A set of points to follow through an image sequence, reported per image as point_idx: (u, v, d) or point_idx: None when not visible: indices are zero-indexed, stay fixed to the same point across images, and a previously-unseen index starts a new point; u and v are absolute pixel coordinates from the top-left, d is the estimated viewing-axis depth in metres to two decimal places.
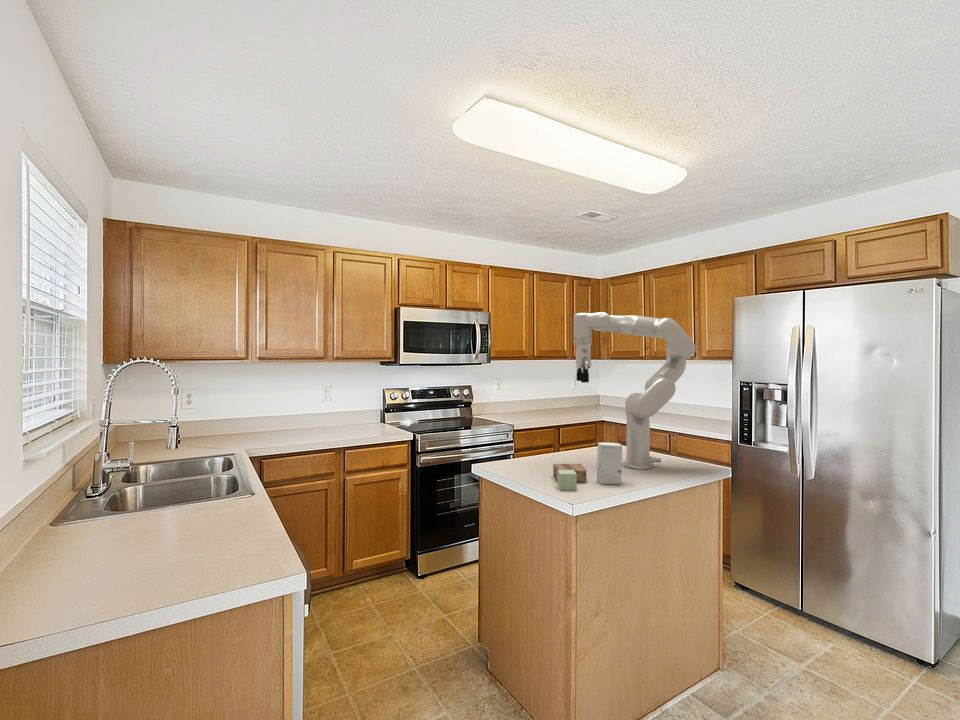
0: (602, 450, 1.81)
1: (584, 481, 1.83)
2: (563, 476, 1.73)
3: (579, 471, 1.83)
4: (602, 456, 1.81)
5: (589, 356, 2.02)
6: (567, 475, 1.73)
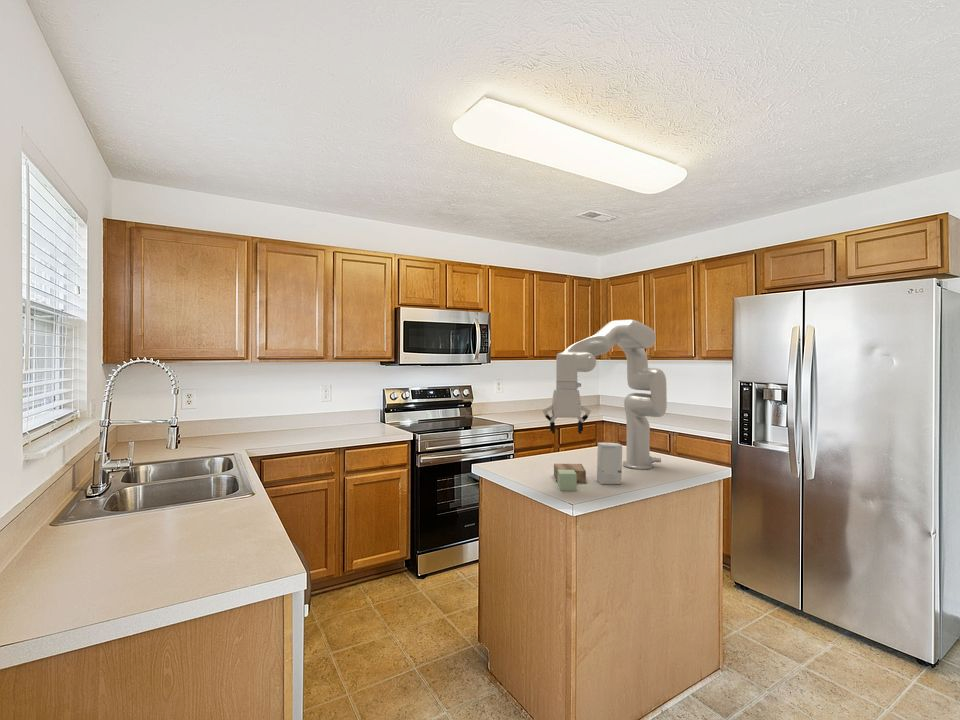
0: (602, 450, 1.81)
1: (583, 481, 1.82)
2: (563, 476, 1.73)
3: (578, 471, 1.83)
4: (602, 456, 1.81)
5: None
6: (567, 475, 1.73)
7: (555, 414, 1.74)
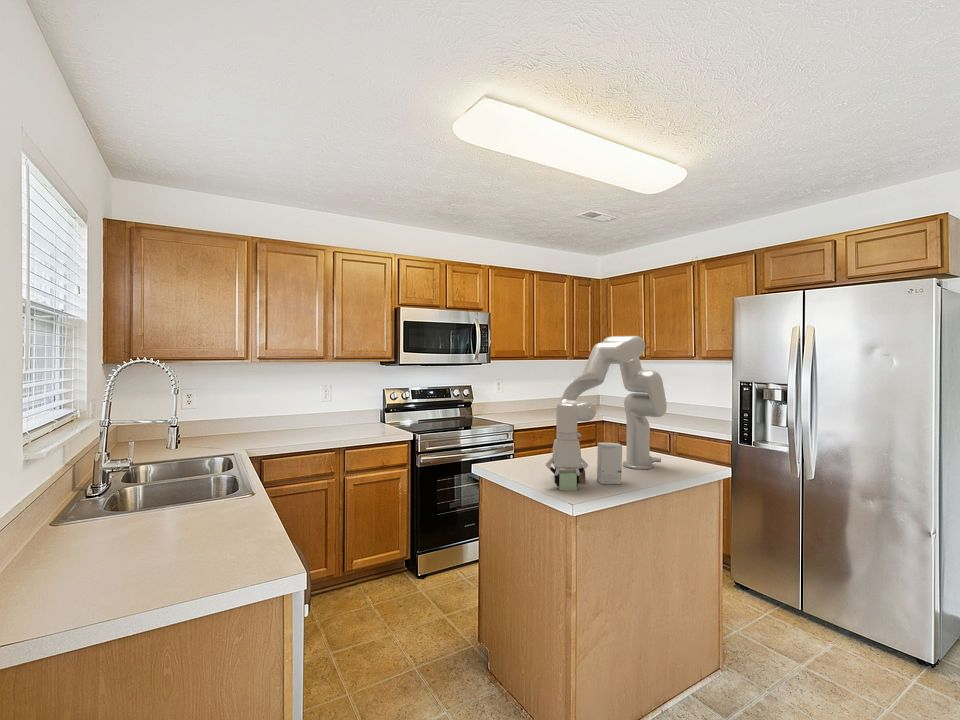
0: (602, 450, 1.81)
1: (583, 481, 1.82)
2: (563, 476, 1.73)
3: None
4: (602, 456, 1.81)
5: None
6: (567, 475, 1.73)
7: (555, 465, 1.74)
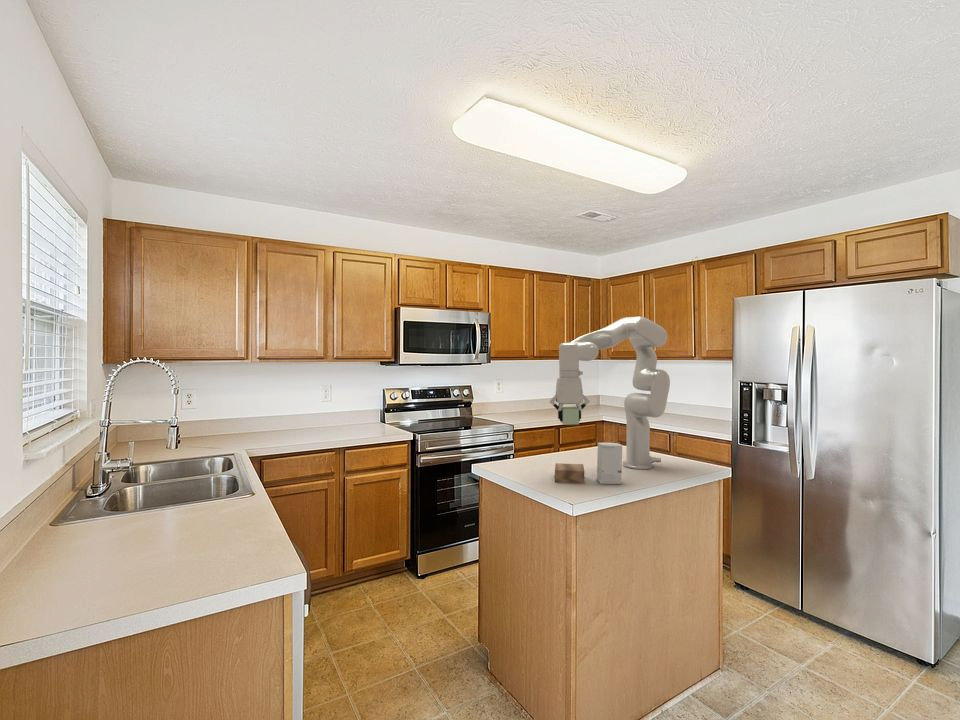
0: (602, 450, 1.81)
1: (582, 482, 1.82)
2: (566, 411, 1.84)
3: (577, 471, 1.82)
4: (602, 456, 1.81)
5: None
6: (570, 410, 1.84)
7: (559, 401, 1.85)
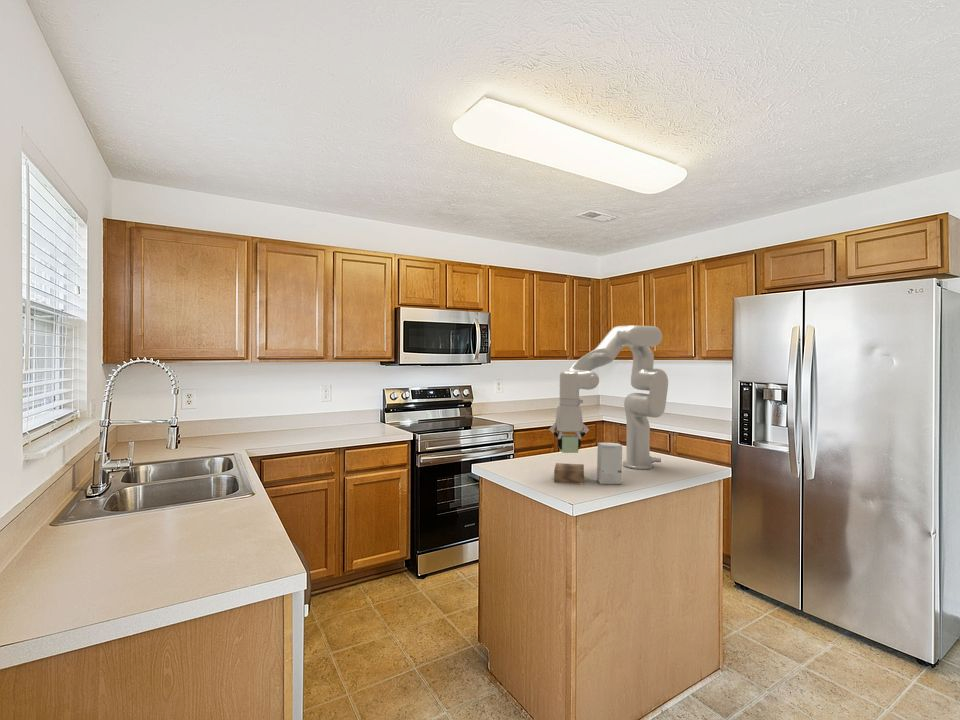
0: (602, 450, 1.81)
1: (581, 482, 1.82)
2: (566, 439, 1.85)
3: (576, 471, 1.82)
4: (602, 456, 1.81)
5: None
6: (569, 438, 1.85)
7: (558, 429, 1.86)
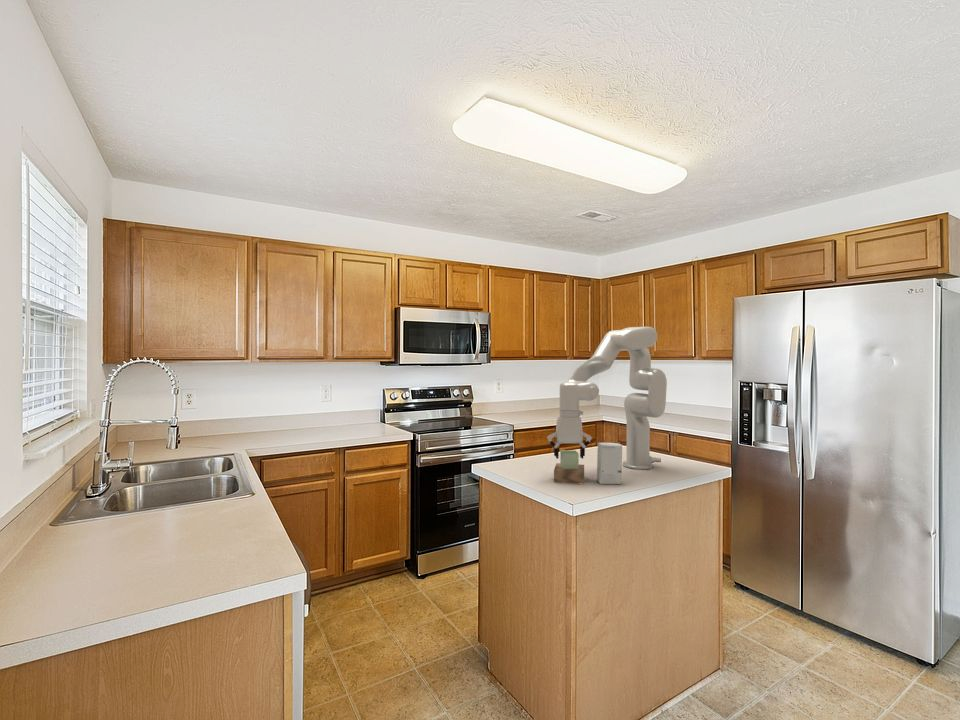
0: (602, 450, 1.81)
1: (581, 482, 1.82)
2: (566, 456, 1.85)
3: (576, 471, 1.82)
4: (602, 456, 1.81)
5: None
6: (570, 454, 1.85)
7: (559, 440, 1.86)
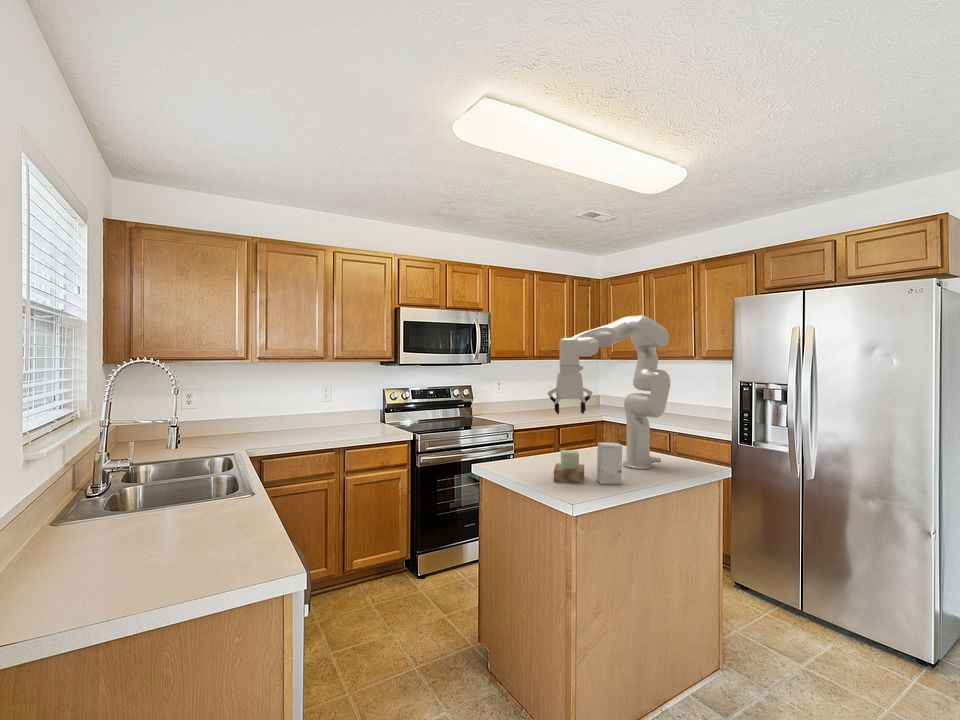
0: (602, 450, 1.81)
1: (581, 482, 1.82)
2: (566, 456, 1.85)
3: (576, 472, 1.82)
4: (602, 456, 1.81)
5: None
6: (570, 455, 1.85)
7: (559, 396, 1.86)
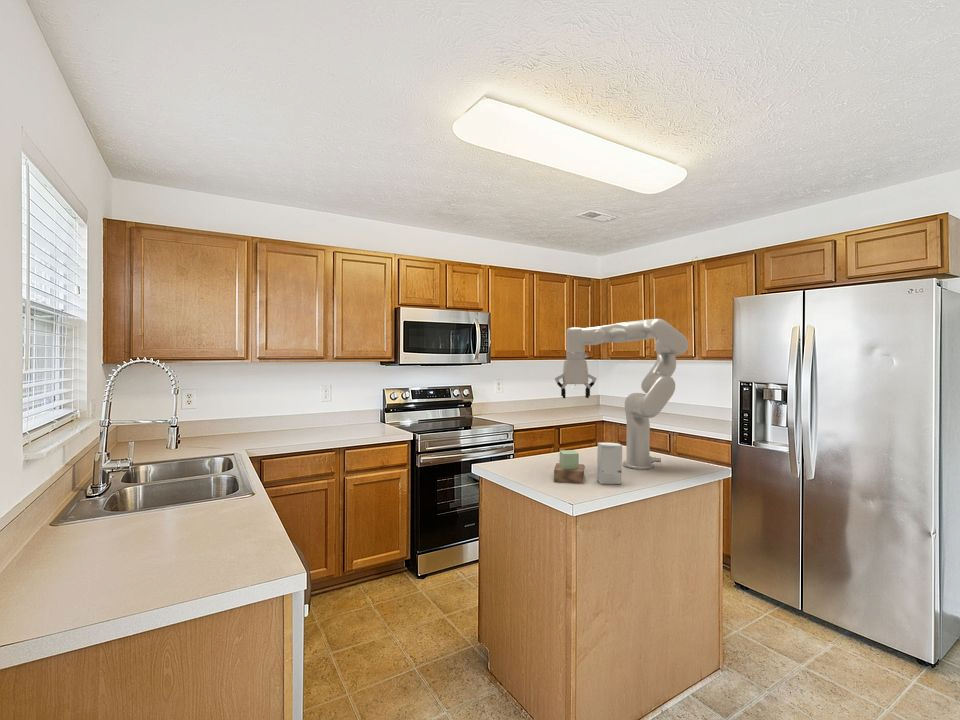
0: (602, 450, 1.81)
1: (581, 482, 1.82)
2: (566, 456, 1.85)
3: (576, 471, 1.82)
4: (602, 456, 1.81)
5: None
6: (570, 455, 1.85)
7: (566, 381, 1.99)
